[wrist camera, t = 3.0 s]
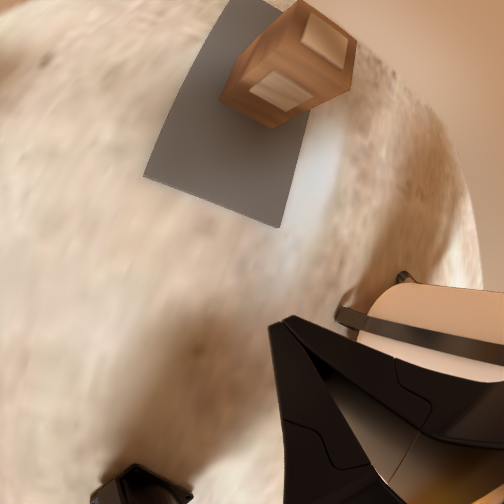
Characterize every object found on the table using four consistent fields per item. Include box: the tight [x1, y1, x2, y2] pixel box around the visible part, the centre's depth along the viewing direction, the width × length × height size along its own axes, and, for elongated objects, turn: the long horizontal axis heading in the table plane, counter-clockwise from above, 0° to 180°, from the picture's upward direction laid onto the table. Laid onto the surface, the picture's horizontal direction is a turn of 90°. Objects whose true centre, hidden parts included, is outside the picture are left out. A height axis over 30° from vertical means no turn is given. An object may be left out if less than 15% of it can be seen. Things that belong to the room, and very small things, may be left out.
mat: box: [143, 0, 310, 228], centre depth 21 cm, size 20×10×1 cm, turn 162°
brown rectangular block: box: [218, 0, 357, 129], centre depth 17 cm, size 5×5×8 cm
